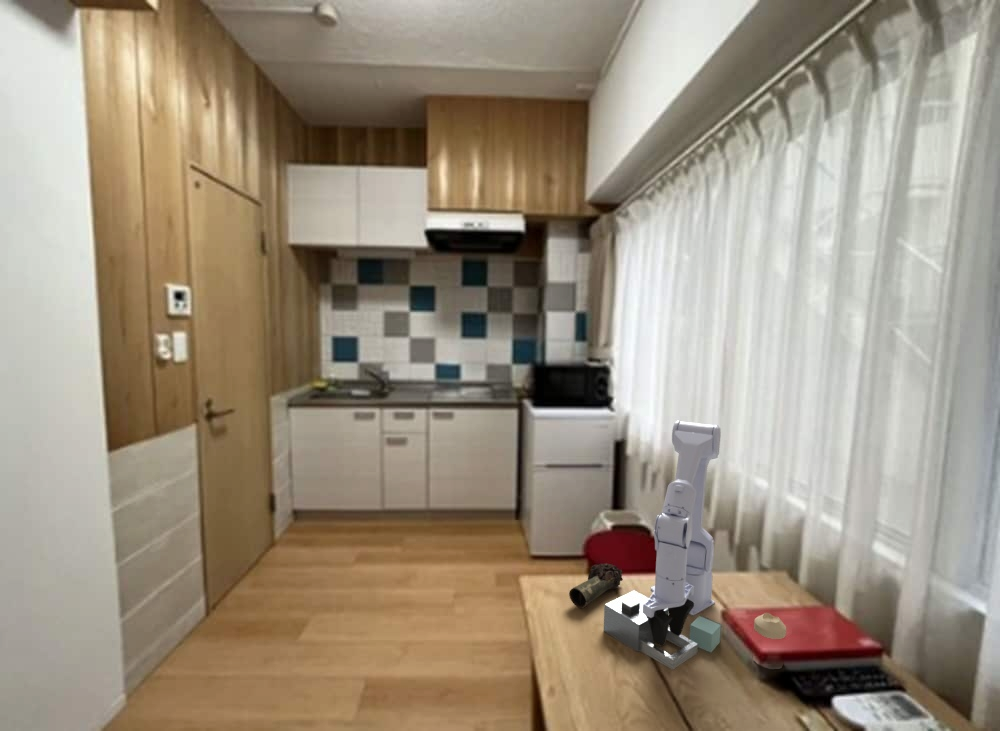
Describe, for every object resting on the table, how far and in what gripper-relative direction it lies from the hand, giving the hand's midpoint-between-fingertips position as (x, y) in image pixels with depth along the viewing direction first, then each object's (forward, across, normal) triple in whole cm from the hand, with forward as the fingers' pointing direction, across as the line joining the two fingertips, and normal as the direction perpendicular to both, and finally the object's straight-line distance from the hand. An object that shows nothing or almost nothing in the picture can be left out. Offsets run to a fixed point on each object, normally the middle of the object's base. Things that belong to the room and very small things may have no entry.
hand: (667, 638), depth 103 cm
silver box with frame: (+3, 0, 0) cm, 3 cm away
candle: (+3, -13, +14) cm, 19 cm away
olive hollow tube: (+6, +1, -22) cm, 23 cm away
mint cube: (+1, -6, +4) cm, 7 cm away
